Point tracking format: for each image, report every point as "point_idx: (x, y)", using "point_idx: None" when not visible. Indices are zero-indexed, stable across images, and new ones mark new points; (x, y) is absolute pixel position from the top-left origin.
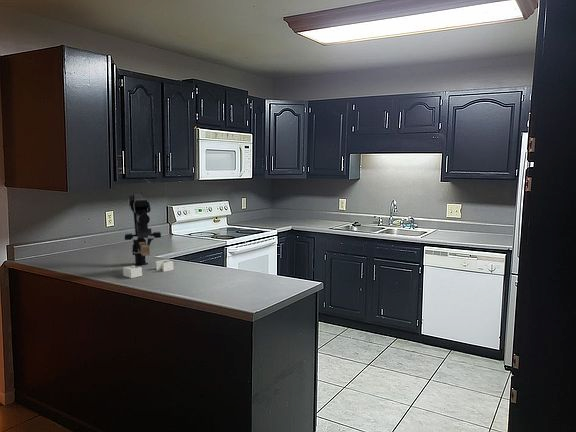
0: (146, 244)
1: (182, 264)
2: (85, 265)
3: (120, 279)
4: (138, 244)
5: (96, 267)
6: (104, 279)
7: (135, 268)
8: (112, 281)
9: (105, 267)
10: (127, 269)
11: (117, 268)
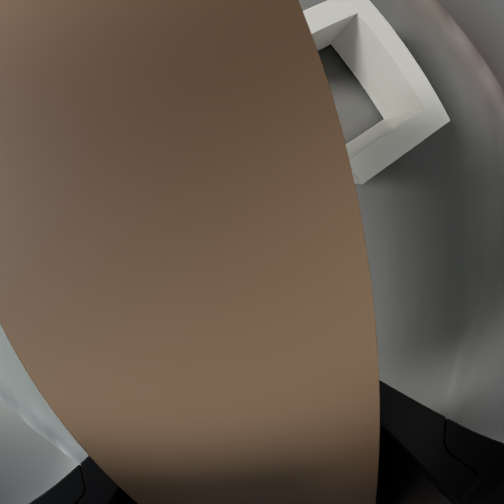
0: (142, 485)
1: (32, 393)
2: (500, 428)
3: (406, 45)
4: (442, 461)
5: (489, 405)
6: (490, 101)
7: (319, 9)
8: (438, 22)
9: (464, 407)
10: (397, 43)
11: (427, 390)
